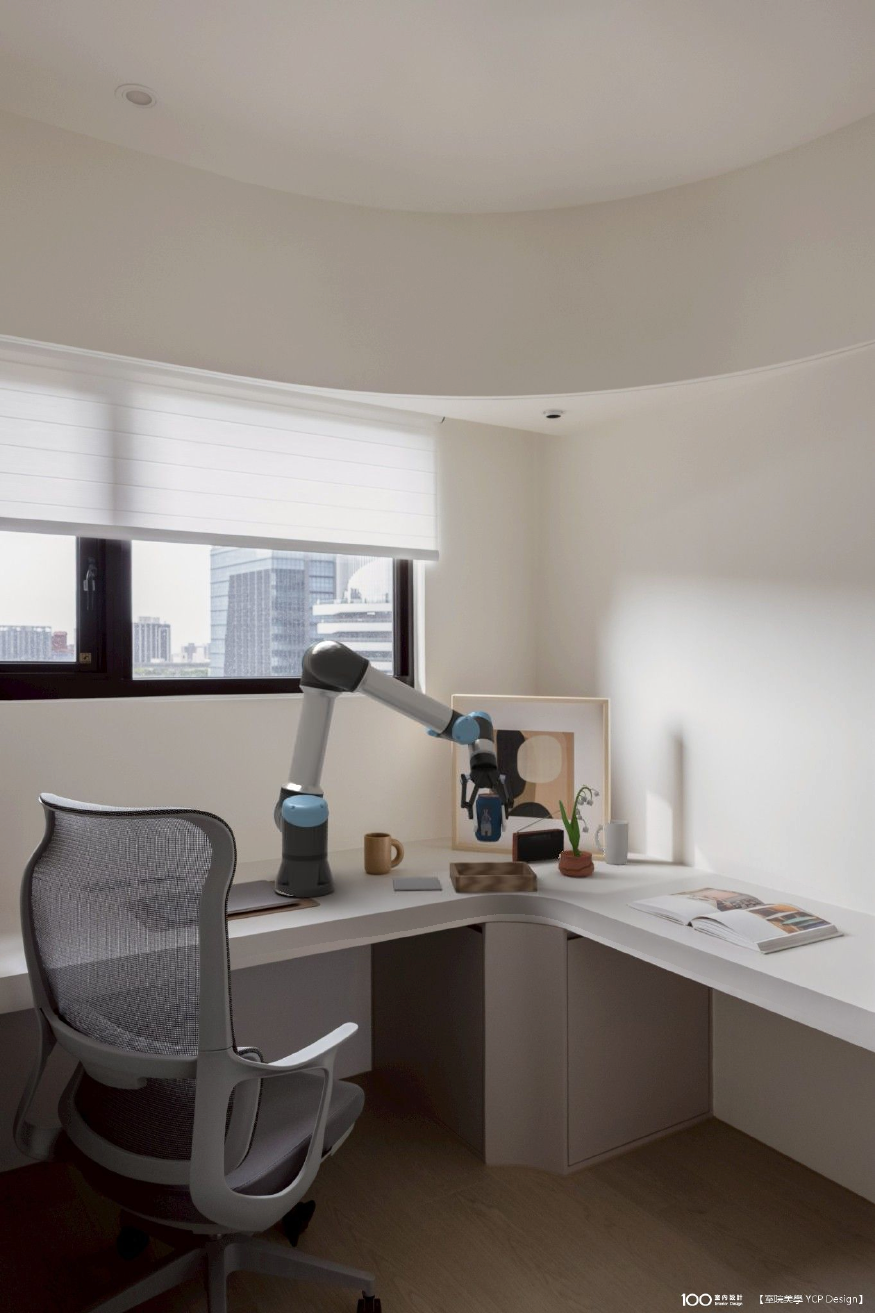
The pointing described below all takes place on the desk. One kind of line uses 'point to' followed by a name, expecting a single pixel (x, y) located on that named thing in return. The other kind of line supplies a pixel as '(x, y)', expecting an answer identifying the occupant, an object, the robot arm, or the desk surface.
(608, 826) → the mug
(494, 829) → the soda can
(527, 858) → the radio
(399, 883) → the grey mat
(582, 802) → the potted flower
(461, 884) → the walnut crate
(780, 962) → the desk surface
